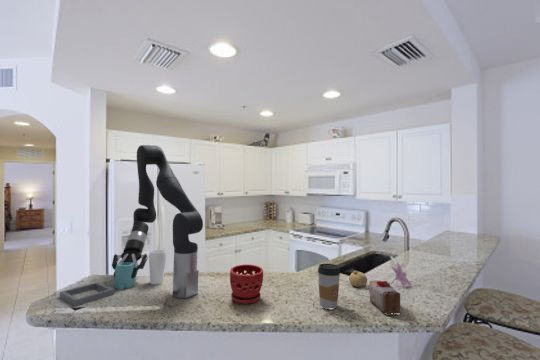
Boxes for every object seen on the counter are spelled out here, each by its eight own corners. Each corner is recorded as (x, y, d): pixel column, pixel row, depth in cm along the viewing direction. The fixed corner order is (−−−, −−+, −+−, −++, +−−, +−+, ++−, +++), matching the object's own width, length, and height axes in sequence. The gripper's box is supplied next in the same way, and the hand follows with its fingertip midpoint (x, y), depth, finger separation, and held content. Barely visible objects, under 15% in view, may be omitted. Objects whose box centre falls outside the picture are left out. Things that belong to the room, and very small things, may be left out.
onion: (352, 281, 128) (352, 266, 128) (369, 285, 123) (369, 270, 123) (346, 286, 121) (346, 270, 121) (364, 290, 117) (364, 274, 117)
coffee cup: (326, 313, 94) (327, 270, 95) (312, 303, 101) (313, 264, 102) (344, 308, 98) (345, 267, 98) (329, 300, 105) (330, 262, 106)
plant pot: (222, 299, 104) (223, 268, 104) (247, 290, 113) (248, 262, 114) (244, 310, 95) (245, 276, 95) (269, 299, 104) (270, 269, 105)
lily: (390, 292, 118) (402, 276, 115) (377, 274, 129) (387, 258, 126) (411, 298, 121) (423, 282, 118) (396, 280, 132) (407, 265, 129)
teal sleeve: (135, 282, 115) (136, 261, 115) (128, 289, 108) (129, 266, 108) (120, 282, 114) (121, 262, 115) (113, 289, 107) (114, 267, 107)
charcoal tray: (113, 298, 102) (114, 288, 102) (75, 310, 91) (75, 300, 91) (97, 290, 109) (97, 282, 109) (59, 301, 98) (59, 291, 98)
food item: (366, 300, 107) (366, 275, 107) (385, 299, 107) (385, 275, 107) (383, 316, 93) (383, 287, 93) (404, 316, 94) (405, 287, 94)
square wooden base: (138, 285, 116) (139, 266, 116) (131, 292, 108) (132, 272, 108) (119, 285, 115) (119, 267, 115) (110, 293, 107) (111, 273, 107)
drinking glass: (158, 289, 112) (160, 253, 113) (144, 287, 114) (146, 252, 114) (167, 283, 119) (169, 250, 120) (154, 282, 120) (155, 249, 121)
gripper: (116, 238, 119) (102, 273, 107) (150, 238, 121) (140, 273, 109) (121, 247, 124) (108, 282, 112) (153, 247, 126) (144, 281, 114)
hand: (124, 277), depth 110 cm, fingers closed on teal sleeve, 6 cm apart
